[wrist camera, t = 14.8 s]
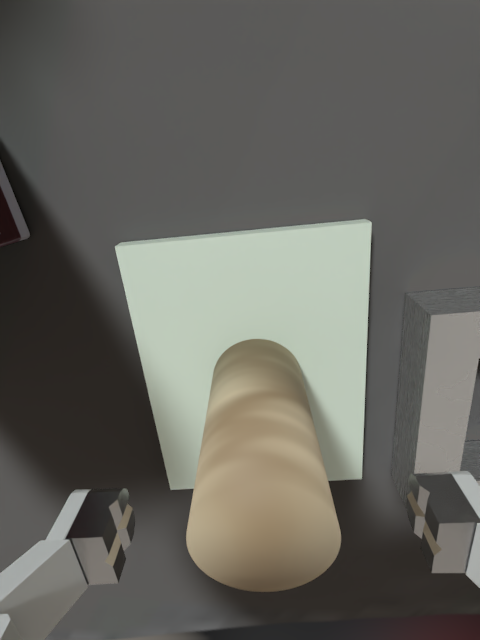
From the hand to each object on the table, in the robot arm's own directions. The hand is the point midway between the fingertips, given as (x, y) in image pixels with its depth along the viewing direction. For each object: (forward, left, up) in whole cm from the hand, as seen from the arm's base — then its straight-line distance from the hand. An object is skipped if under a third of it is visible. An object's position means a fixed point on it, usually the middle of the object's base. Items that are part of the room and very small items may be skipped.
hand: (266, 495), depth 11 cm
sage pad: (0, 0, -8) cm, 8 cm away
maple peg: (0, 0, -7) cm, 7 cm away
